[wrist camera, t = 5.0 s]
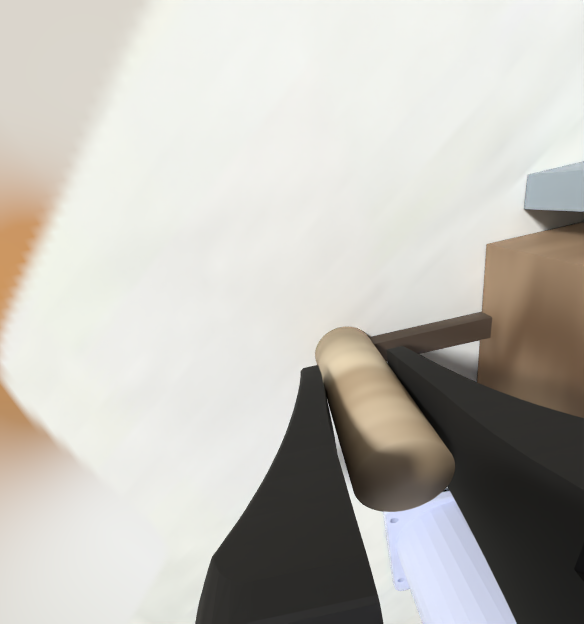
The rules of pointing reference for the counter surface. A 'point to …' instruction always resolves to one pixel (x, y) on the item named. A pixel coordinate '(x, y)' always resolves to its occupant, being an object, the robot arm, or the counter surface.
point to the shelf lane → (556, 189)
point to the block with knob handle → (491, 368)
